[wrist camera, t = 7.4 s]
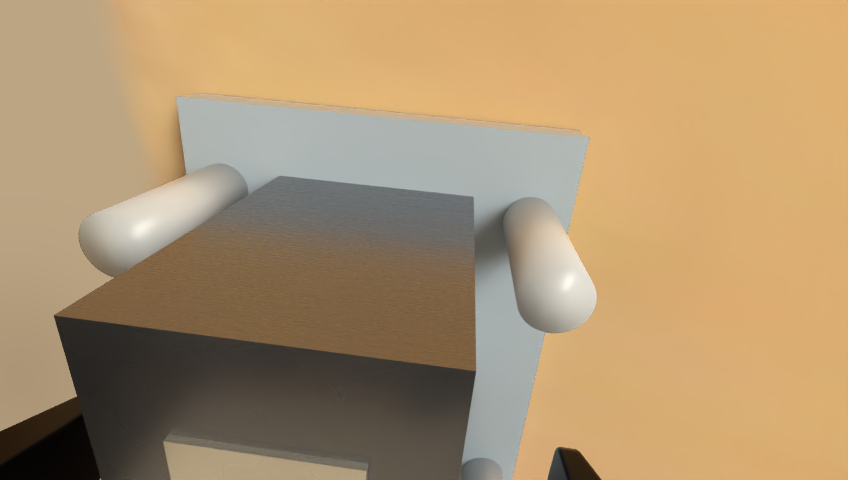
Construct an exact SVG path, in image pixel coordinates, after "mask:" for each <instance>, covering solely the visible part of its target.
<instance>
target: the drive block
mask: <svg viewBox="0 0 848 480" xmlns="http://www.w3.org/2000/svg"><path fill="white" fill-rule="evenodd" d="M54 318H55V321H56V325H57V328H58V332H59V335H60V339H61V342H62V345H63V349H64V352H65V356H66V359H67V363H68V366H69V370H70V373H71V377H72V380H73V383H74V387H75V390H76V394H77V397H78V401H79V404H80V408H81V411H82V415H83V418H84V422H85V425H86V429H87V432H88V435H89V439H90V442H91V446H92V449H93V453H94V456H95V460H96V463H97V467H98V470H99V474H100V477H101V480H459V476H460V470H461V464H462V457H463V451H464V445H465V439H466V432H467V426H468V420H469V413H470V407H471V401H472V395H473V388H474V382H475V376H476V317H475V242H474V197H473V196H463V195H454V194H445V193H436V192H426V191H417V190H408V189H399V188H389V187H380V186H371V185H361V184H352V183H343V182H334V181H324V180H315V179H306V178H297V177H287V176H278V177H277V178H275V179H273V180H272V181H270V182H269V183H267V184H265V185H264V186H262V187H260V188H259V189H257V190H256V191H254V192H252V193H251V194H249V195H248V196H246V197H244V198H243V199H241V200H239V201H238V202H236V203H235V204H233V205H231V206H230V207H228V208H227V209H225V210H223V211H222V212H220V213H219V214H217V215H215V216H214V217H212V218H210V219H209V220H207V221H206V222H204V223H202V224H201V225H199V226H198V227H196V228H194V229H193V230H191V231H189V232H188V233H186V234H185V235H183V236H181V237H180V238H178V239H177V240H175V241H173V242H172V243H170V244H168V245H167V246H165V247H164V248H162V249H160V250H159V251H157V252H156V253H154V254H152V255H151V256H149V257H147V258H146V259H144V260H143V261H141V262H139V263H138V264H136V265H135V266H133V267H131V268H130V269H128V270H126V271H125V272H123V273H122V274H120V275H118V276H117V277H115V278H114V279H112V280H110V281H109V282H107V283H105V284H104V285H102V286H101V287H99V288H97V289H96V290H94V291H93V292H91V293H89V294H88V295H86V296H84V297H83V298H81V299H80V300H78V301H76V302H75V303H73V304H72V305H70V306H68V307H67V308H65V309H63V310H62V311H60V312H59V313H57V314H55V315H54Z"/></svg>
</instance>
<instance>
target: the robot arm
mask: <svg viewBox="0 0 848 480" xmlns="http://www.w3.org/2000/svg"><path fill="white" fill-rule="evenodd" d="M100 478H101V477H100V474H99V470H98V467H97V463H96V460H95V456H94V453H93V449H92V446H91V442H90V439H89V435H88V432H87V429H86V425H85V422H84V418H83V415H82V411H81V408H80V404H79V401H78V397H75V398H73V399H70V400H68V401H66V402H64V403H62V404H59V405H57V406H55V407H53V408H51V409H49V410H46V411H44V412H42V413H40V414H38V415H35V416H33V417H31V418H29V419H27V420H24V421H22V422H20V423H18V424H16V425H13V426H11V427H9V428H7V429H5V430H2V431H0V480H100ZM548 480H601V478H600V477H599V476H598V475H597V473H596V472H595V471H594V469H593V468H592V467H591V466H590V464H589V463H588V462H587V460H586V459H585V458H584V457H583V455H582V454H581V453H580V452H579V451H578V450H576V449H571V448H564V447H558V448H557V449H556V450H555V453H554V457H553V460H552V464H551V468H550V471H549V475H548Z"/></svg>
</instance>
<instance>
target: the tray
mask: <svg viewBox="0 0 848 480" xmlns="http://www.w3.org/2000/svg"><path fill="white" fill-rule="evenodd" d="M176 100H177V108H178V115H179V123H180V131H181V138H182V146H183V154H184V161H185V169H186V175H185V176H183V177H180V178H178V179H175V180H173V181H171V182H168V183H166V184H163V185H161V186H159V187H156V188H154V189H151V190H149V191H147V192H144V193H142V194H139V195H137V196H134V197H132V198H130V199H127V200H125V201H122V202H120V203H118V204H115V205H113V206H110V207H108V208H106V209H103V210H101V211H98V212H96V213H93V214H92V215H89V216H88V217H86V218H85V219H84V220H83V222H82V223H81V225H80V229H79V243H80V246H81V248H82V251H83V252H84V254H85V256H86V257H87V259H88V260H89V261H90V262H91V263H92V264H93V265H94V266H95V267H96V268H97V269H98V270H100V271H102V272H103V273H105V274H107V275H109V276H111V277H114V278H115V277H117V276H118V275H120V274H122V273H123V272H125V271H126V270H128V269H130V268H131V267H133V266H135V265H136V264H138V263H139V262H141V261H143V260H144V259H146V258H147V257H149V256H151V255H152V254H154V253H156V252H157V251H159V250H160V249H162V248H164V247H165V246H167V245H168V244H170V243H172V242H173V241H175V240H177V239H178V238H180V237H181V236H183V235H185V234H186V233H188V232H189V231H191V230H193V229H194V228H196V227H198V226H199V225H201V224H202V223H204V222H206V221H207V220H209V219H210V218H212V217H214V216H215V215H217V214H219V213H220V212H222V211H223V210H225V209H227V208H228V207H230V206H231V205H233V204H235V203H236V202H238V201H239V200H241V199H243V198H244V197H246V196H248V195H249V194H251V193H252V192H254V191H256V190H257V189H259V188H260V187H262V186H264V185H265V184H267V183H269V182H270V181H272V180H273V179H275V178H277V177H278V176H287V177H297V178H306V179H315V180H324V181H334V182H343V183H352V184H361V185H371V186H380V187H389V188H399V189H408V190H417V191H426V192H436V193H445V194H454V195H463V196H473V197H474V242H475V317H476V376H475V382H474V388H473V395H472V401H471V407H470V413H469V420H468V426H467V432H466V439H465V445H464V451H463V457H462V464H461V470H460V476H459V480H512V477H513V473H514V468H515V464H516V460H517V455H518V451H519V446H520V442H521V438H522V433H523V429H524V424H525V420H526V416H527V411H528V407H529V402H530V398H531V393H532V389H533V385H534V380H535V376H536V371H537V367H538V363H539V358H540V354H541V349H542V345H543V341H544V336H545V332H547V333H563V332H567V331H570V330H573V329H575V328H577V327H579V326H580V325H582V324H583V323H584V322H585V321H586V320H587V319H588V318H589V317H590V316H591V314H592V313H593V311H594V309H595V306H596V301H597V295H596V290H595V287H594V285H593V283H592V281H591V279H590V277H589V275H588V273H587V271H586V269H585V268H584V266H583V264H582V262H581V260H580V258H579V256H578V254H577V252H576V251H575V249H574V247H573V245H572V243H571V241H570V239H569V237H568V236H567V235H568V230H569V226H570V221H571V217H572V213H573V208H574V204H575V199H576V195H577V191H578V186H579V182H580V177H581V173H582V169H583V164H584V160H585V155H586V151H587V146H588V142H589V137H588V136H586V135H585V134H583V133H582V132H581V131H579V130H571V129H561V128H550V127H540V126H530V125H520V124H510V123H500V122H489V121H479V120H469V119H459V118H449V117H438V116H428V115H418V114H408V113H398V112H388V111H377V110H367V109H357V108H347V107H337V106H327V105H316V104H306V103H296V102H286V101H276V100H265V99H255V98H245V97H235V96H225V95H215V94H204V93H199V94H192V95H185V96H177V97H176Z"/></svg>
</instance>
